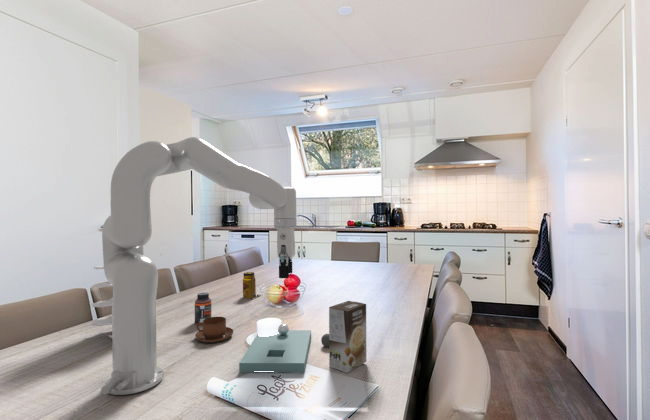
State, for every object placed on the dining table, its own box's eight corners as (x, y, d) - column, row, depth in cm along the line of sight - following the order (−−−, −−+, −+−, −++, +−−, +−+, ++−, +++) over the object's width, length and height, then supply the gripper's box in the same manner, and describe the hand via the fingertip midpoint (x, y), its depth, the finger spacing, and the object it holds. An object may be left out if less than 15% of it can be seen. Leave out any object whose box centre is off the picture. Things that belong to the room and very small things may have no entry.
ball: (288, 336, 106) (288, 325, 106) (277, 336, 106) (277, 325, 106) (289, 332, 110) (289, 322, 110) (279, 332, 110) (279, 322, 110)
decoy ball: (333, 348, 103) (333, 336, 103) (320, 348, 103) (320, 336, 103) (333, 344, 106) (333, 331, 106) (321, 344, 107) (321, 331, 107)
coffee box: (348, 374, 87) (347, 311, 87) (328, 367, 91) (327, 307, 91) (367, 361, 94) (366, 303, 94) (348, 355, 98) (347, 299, 98)
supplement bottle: (206, 326, 124) (205, 295, 124) (191, 326, 125) (191, 295, 125) (214, 321, 129) (214, 291, 129) (200, 320, 131) (200, 291, 131)
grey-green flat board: (304, 372, 88) (304, 363, 88) (239, 372, 88) (239, 363, 88) (311, 337, 112) (311, 330, 112) (259, 337, 112) (259, 330, 112)
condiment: (239, 298, 163) (238, 273, 163) (248, 294, 171) (248, 270, 171) (252, 299, 161) (252, 274, 161) (261, 295, 169) (261, 271, 169)
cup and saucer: (193, 347, 105) (192, 327, 105) (197, 334, 117) (197, 316, 117) (233, 343, 108) (233, 324, 108) (233, 330, 120) (233, 313, 120)
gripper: (293, 224, 106) (293, 280, 106) (299, 222, 124) (299, 270, 124) (269, 225, 107) (270, 281, 107) (278, 222, 124) (279, 270, 124)
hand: (285, 275), depth 115 cm, fingers open, 8 cm apart
